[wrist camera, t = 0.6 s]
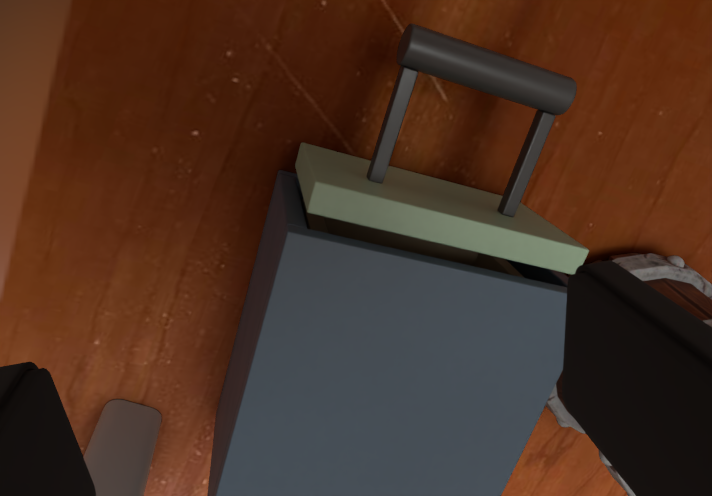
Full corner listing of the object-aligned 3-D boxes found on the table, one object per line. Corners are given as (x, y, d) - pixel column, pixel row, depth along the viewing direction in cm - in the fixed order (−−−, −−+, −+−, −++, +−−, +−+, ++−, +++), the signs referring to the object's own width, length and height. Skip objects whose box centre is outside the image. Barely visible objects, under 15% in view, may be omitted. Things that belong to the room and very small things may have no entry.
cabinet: (278, 168, 26) (287, 231, 18) (507, 226, 30) (597, 300, 22) (215, 413, 31) (201, 546, 23) (419, 440, 34) (467, 564, 26)
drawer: (336, 6, 23) (365, 0, 17) (564, 83, 26) (660, 102, 20) (236, 384, 29) (231, 480, 23) (429, 412, 32) (470, 504, 26)
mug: (552, 219, 29) (865, 396, 17) (721, 251, 35) (1048, 401, 22) (478, 397, 33) (685, 652, 20) (640, 399, 39) (882, 600, 26)
